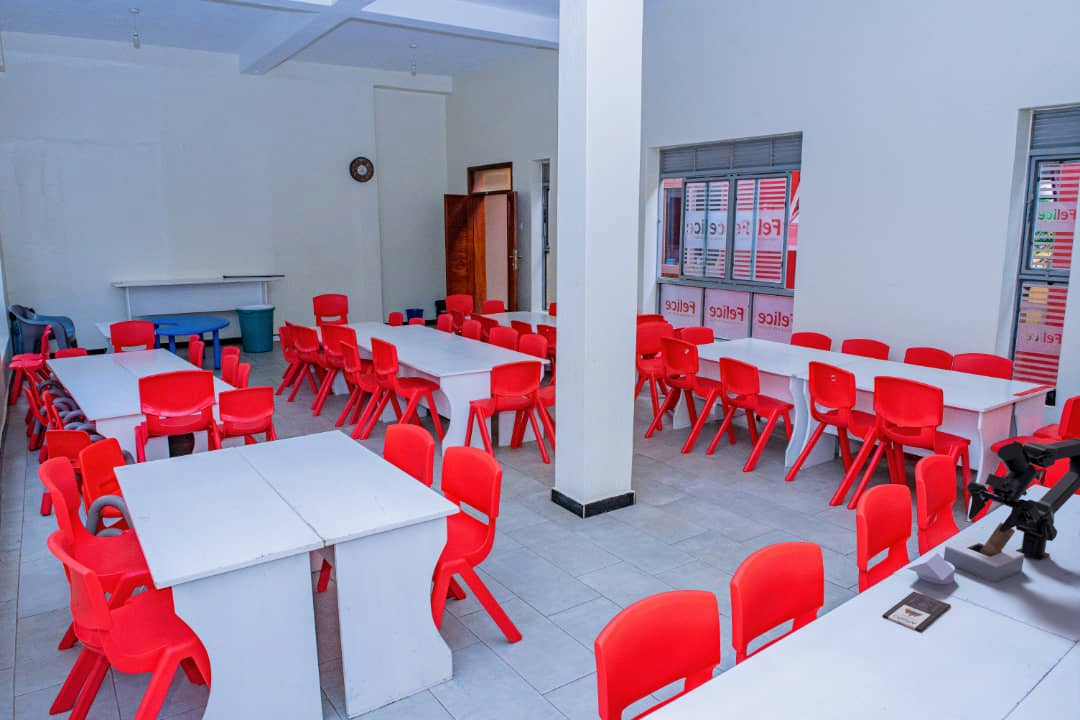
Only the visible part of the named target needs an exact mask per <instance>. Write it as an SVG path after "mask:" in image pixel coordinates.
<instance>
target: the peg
mask: <svg viewBox="0 0 1080 720" xmlns="http://www.w3.org/2000/svg"><path fill="white" fill-rule="evenodd" d="M1003 523H1004V522H999V524H998V525H997V527H995V530H994V531H993V532H992V534H991V535H990V536H989V538H988V539H987V542H986V544H985V545H984V546H983V548H982V549H981V551H980V552H979V553H981V554H984V555H986V556H989V557H991V556H994V555H996V554H999V553H1000V552H1001V551H1002V549H1003V548H1004V547H1006V546H1007V543H1009V541H1010V539H1011V538H1012V537H1013V536H1014V534H1015V529H1014V528H1011V529H1008V530H1006V531H1004V532H1000V530H999V529H1000V528H1001V526H1002V524H1003Z"/></svg>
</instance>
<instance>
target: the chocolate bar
mask: <svg viewBox="0 0 1080 720" xmlns="http://www.w3.org/2000/svg"><path fill="white" fill-rule="evenodd" d="M951 606H952V605H951V604H950V603H947V602H944V601H941V600H938V599H936V598H933V597H930V596H927V595H924V594H921V593H919V592H918V591H917V592H916V591H912V592H911V593H910V594H908V595H907V596H906V597H904V598H903V599H902V600H900V601H899V602H898V603H896V604H895V605H893V606H892V607H891V608H889V609H888V610H887V611H886V612H885V613H883V614H882V618H884V619H887V620H889V619H890V621H891V622H894V621H895V622H894V623H898V624H899V623H900V625H901V626H902V625H903V626H904V627H907V628H909V629H912V630H914V631H917V632H920V633H922V632H923V631H924V630H925V629H926V628H927V627H928V626H930V625H931V624H932V623H933V622H934V621H936V620H937V619H938V618H939V617H940V616H942V615H943V614H944V613H945V612H946V611H947V610H949V609H950V608H951ZM949 607H950V608H949ZM948 608H949V609H948ZM943 612H944V613H943ZM942 613H943V614H942ZM941 614H942V615H941ZM936 618H937V619H936ZM935 619H936V620H935Z"/></svg>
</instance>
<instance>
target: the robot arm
mask: <svg viewBox="0 0 1080 720" xmlns="http://www.w3.org/2000/svg"><path fill="white" fill-rule="evenodd" d="M997 457H998V458H999V460H1001V462H1002V464H1003V465H1004V466H1005V468H1006V470H1008V471H1009V472H1008V473H1007V475H1002V476H1000V475H999V476H998V475H996V474H992V473H988V475H987V478H986V480H985V483H984V484H985V485H984V484H981V483H978V482H976V481H970V482H969V483H968V484H967V486H966V487H965V489H966V490H967V492H968V493H969V495H970V497H971V503H970V508H969V512H968V516H967V517H968V519H969V520H970V521H971V520H972V519H974V518H975V517H976V516H977V515H978V514H979V513H981V511H982V510H983V509H984V508H985V507H986V506H987V503H988V502H989V500H990V501H993V502H995V503H998V504H1001V505H1002V506H1003V505H1004V506H1006V507H1009V508H1011V512H1010V514H1009V515H1008V517H1007V518H1006V519H1005V521H1003V522H1002V523H1003V524H1002V526H1001V528H1000V529H999V530H1000V532H1004V531H1006V530H1008V529H1011V528H1012V529H1014V528H1016V530H1017V531H1020V532H1022V533H1023V537H1022V543H1021V548H1020V547H1019V548H1018V549H1015V551H1017V552H1020V553H1023V554H1024V557H1028V558H1030V559H1033V560H1036V561H1041V560H1044V559H1046V558H1048V557H1050V553H1048V552H1046V547H1047V541H1050V542H1053V541H1054V539H1056V537H1057V535H1058V530H1057V528H1056V527H1055V525H1054V524H1055V514H1056V513H1057V511H1059V510H1060V509H1061V507H1063V505H1065V504H1066V502H1068V501H1069V500H1070V498H1071V497H1072V496H1073V495H1074V494H1075V493H1076V492H1077V491H1078V490H1079V489H1080V438H1077V437H1072V438H1069V439H1066V440H1062V441H1055V442H1052V443H1040V442H1029V441H1028V442H1026V443H1025V444H1023V443H1022V442H1021V441H1016V440H1013V442H1012V443H1007V444H1004V445H1002V446H1000V447H999V448H998V450H997ZM1067 458H1068V460H1069V462H1068V463H1069V464H1068V466H1069V470H1068V471H1066V473H1064V474H1063V476H1062V477H1061V478H1060V479H1059V480H1058V481H1057V482H1056V483H1055V484H1054V485H1053V486H1052V487H1051V488H1050V489H1049V490H1048V491H1047V492H1046V493H1045V494H1044V495H1043V496H1042V497H1041V498H1040V499H1039V500H1038V501H1035V500H1034V499H1028V500H1025V499H1023V498H1021V497H1022V496H1024V497H1026V495H1027V494H1028V492H1027V489H1028V488H1029V486H1030V485H1031V484H1032V482H1033V481H1034V480H1036V481H1039V480H1041V479H1040V478H1041V476H1040V473H1039V472H1040V470H1039V469H1036V467H1040V468H1043V469H1047V468H1050V467H1051V466H1054V465H1055V464H1056V462H1057V461H1059V460H1062V459H1067ZM1035 466H1036V467H1035ZM986 485H987V486H990V490H991V491H992V492H993V493H992V492H990V491H988V488H987V487H986Z"/></svg>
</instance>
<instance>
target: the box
mask: <svg viewBox="0 0 1080 720" xmlns="http://www.w3.org/2000/svg"><path fill="white" fill-rule="evenodd" d="M987 541H988V539H984V538H981V537H978V536H976V535H971V536H969V537H964V538H962V539H960V540H956V541H955V542H952V543H949V544H946V545H945V549H944V553H943V559H944V560H945V561H947V562H949V563H951V564H952V565H953V566H954V567H955V569H959V570H961V571H963V570H964V571H963V572H966V573H968V572H969V573H968V574H971V575H973V574H974V575H973V576H976V575H977V576H976V577H978V578H980V577H981V578H980V579H984V580H986V581H988V582H991V583H993V584H996V583H998V582H1000V581H1002V580H1005V579H1007V578H1010V577H1011V576H1013V575H1016V574H1019V573H1020V572H1022V571H1023V566H1024V560H1025V559H1024V557H1025V555H1024V554H1023V553H1020V552H1017V551H1016V550H1014V549H1011V548H1009V547H1006V546H1004V548H1003V549H1002V551H1001V552H1000V553H999V554H996V555H994V556H991V557H989V556H986V555H984V554H981V553H979V552H980V551H981V549H982V548H983V546H984V545H985V544H986V542H987ZM1004 578H1005V579H1004Z"/></svg>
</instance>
